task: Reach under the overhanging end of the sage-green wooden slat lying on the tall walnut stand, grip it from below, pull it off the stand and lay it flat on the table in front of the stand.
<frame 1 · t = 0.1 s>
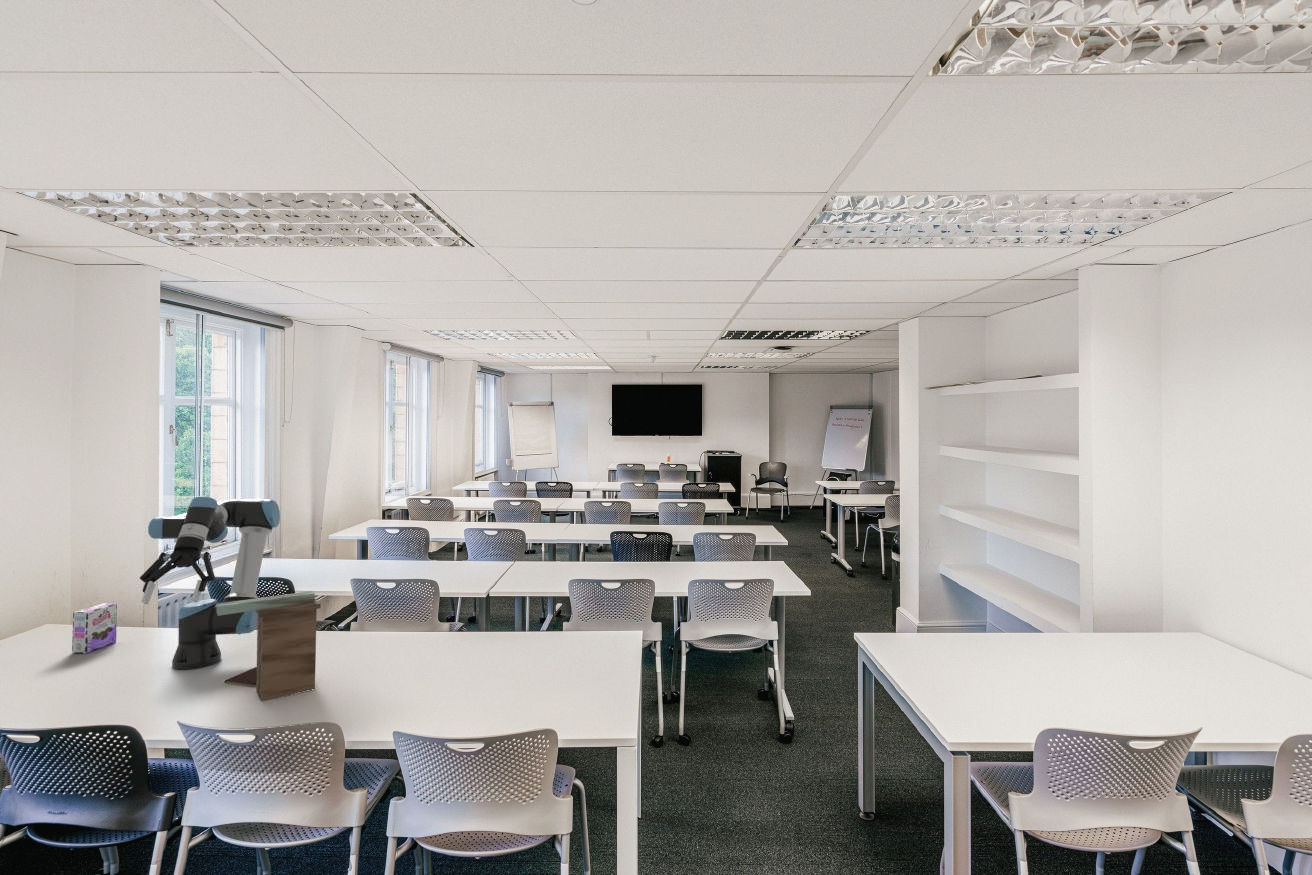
hand: (169, 602, 194), 36 cm above the table, tool tilted 35°, fingers open, 13 cm apart
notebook: (265, 676, 227), on the table
slat: (267, 607, 210), point 30 cm above the table, touching stand
candy box: (94, 648, 250), on the table
stand: (285, 690, 214), on the table
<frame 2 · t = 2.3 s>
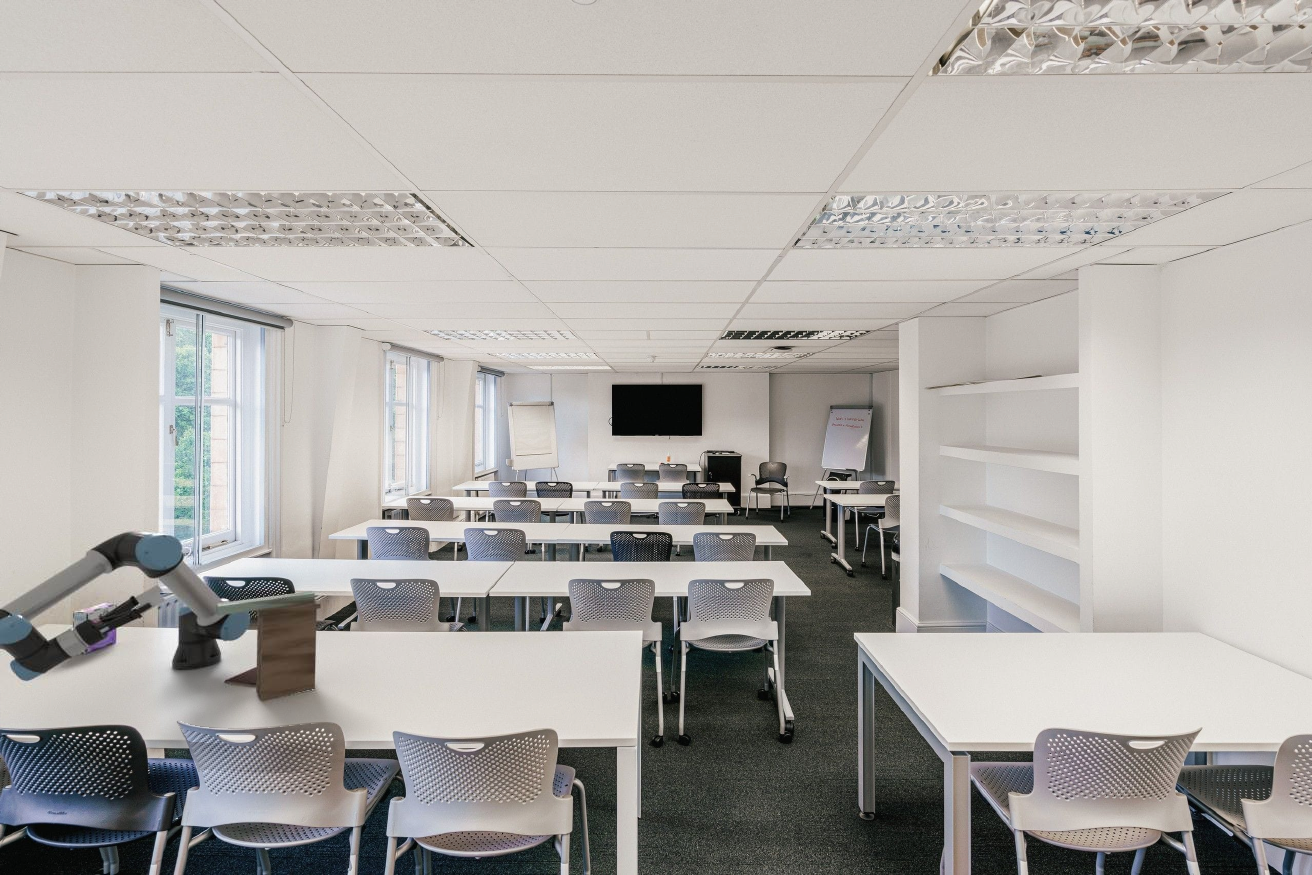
hand: (161, 592, 197), 38 cm above the table, tool pointing upward, fingers open, 13 cm apart
nothing on the table moved.
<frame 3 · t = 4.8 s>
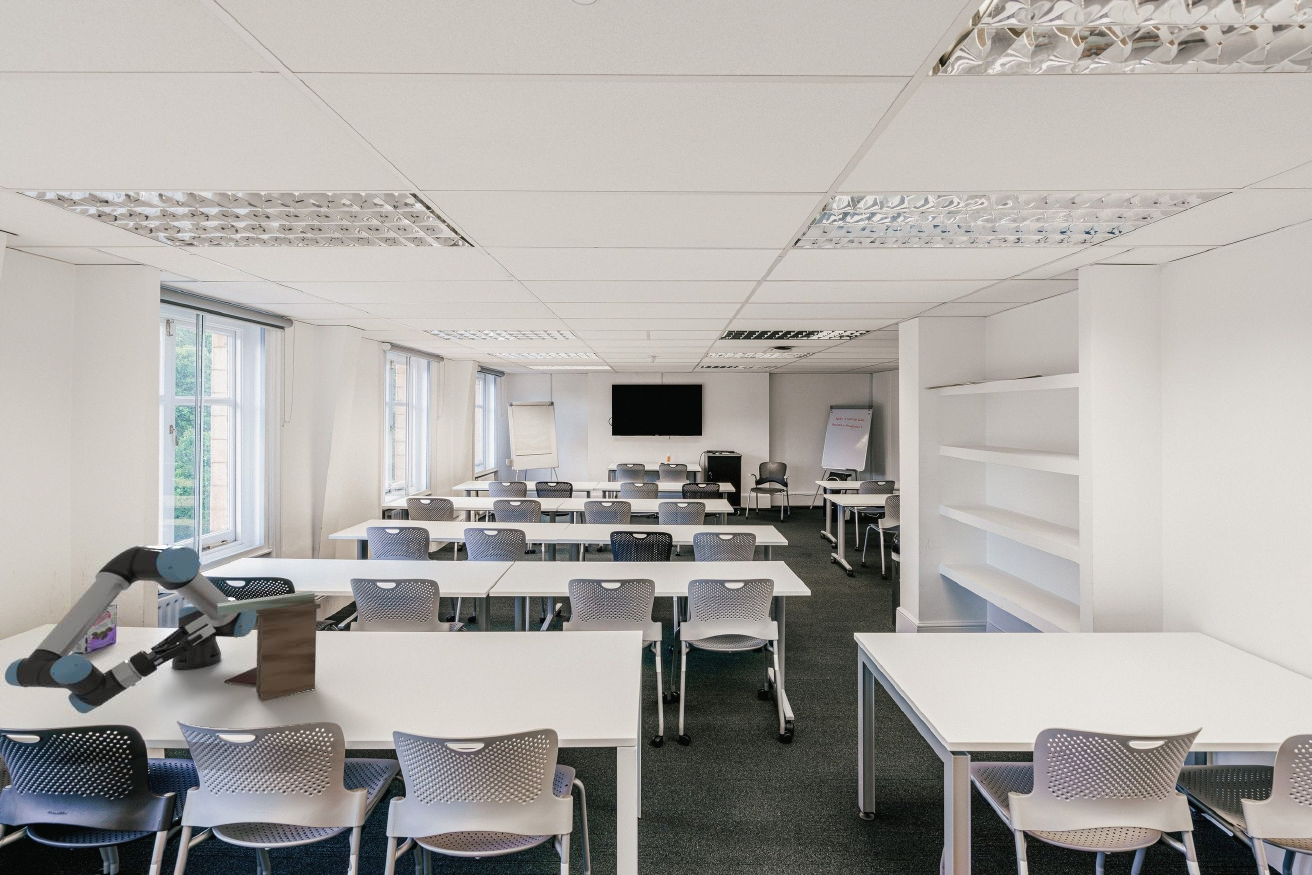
hand: (210, 622, 200), 28 cm above the table, tool pointing upward, fingers open, 13 cm apart
nothing on the table moved.
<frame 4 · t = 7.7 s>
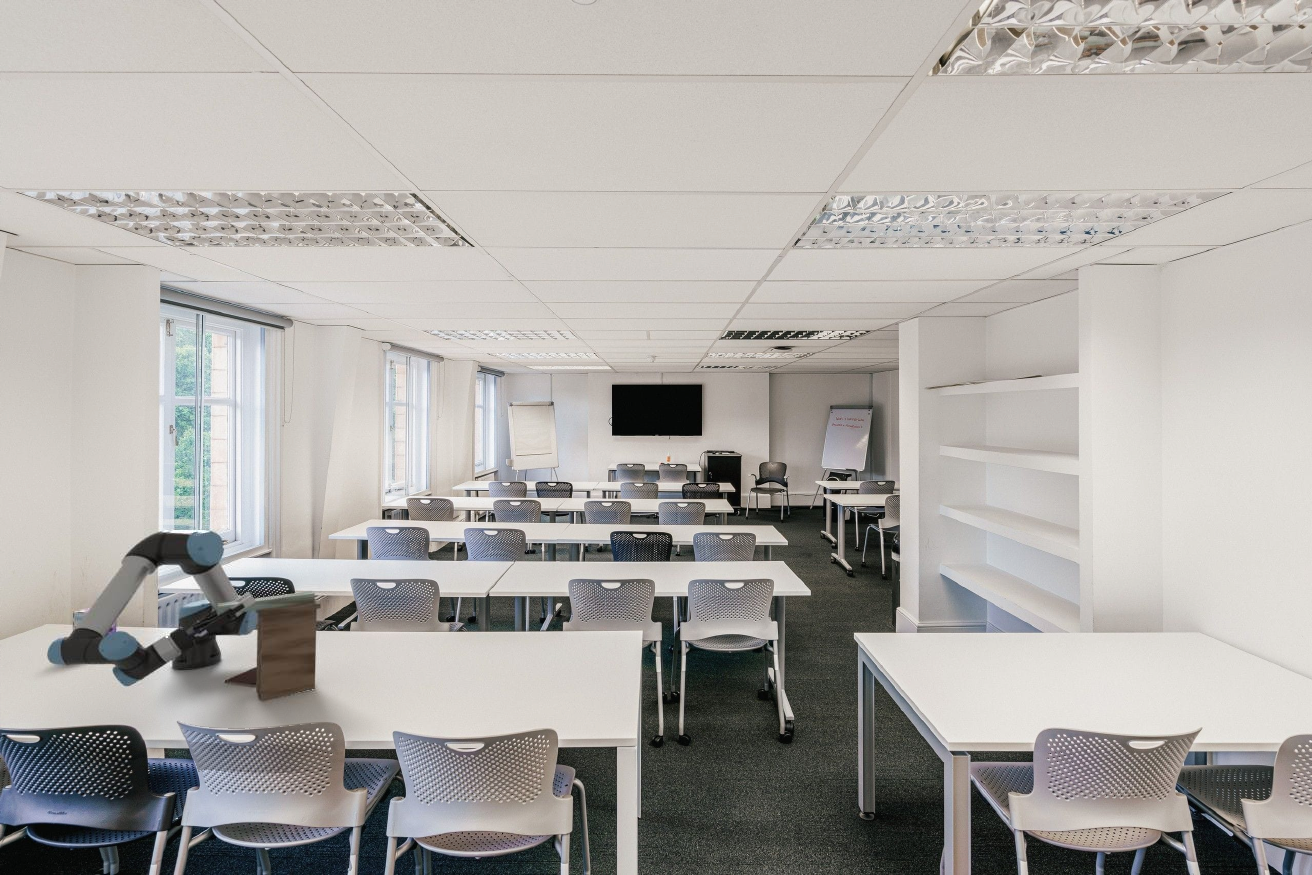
hand: (252, 596, 207), 34 cm above the table, tool pointing upward, fingers closed on slat, 4 cm apart
slat: (267, 607, 210), point 30 cm above the table, touching gripper, stand
everything else where it was.
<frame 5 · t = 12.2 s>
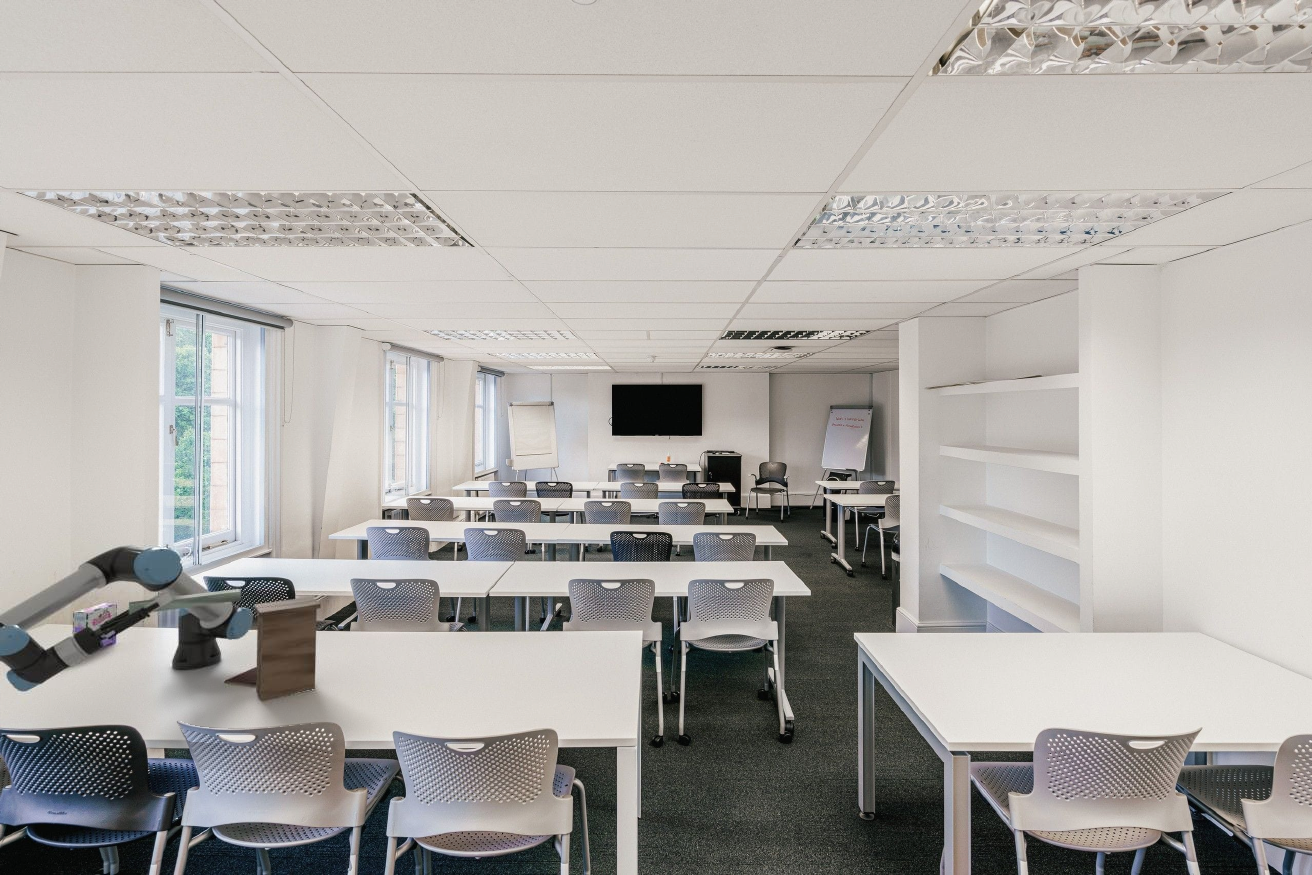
hand: (169, 594, 193), 38 cm above the table, tool pointing upward, fingers closed on slat, 4 cm apart
slat: (186, 605, 196), point 34 cm above the table, touching gripper
everything else where it was.
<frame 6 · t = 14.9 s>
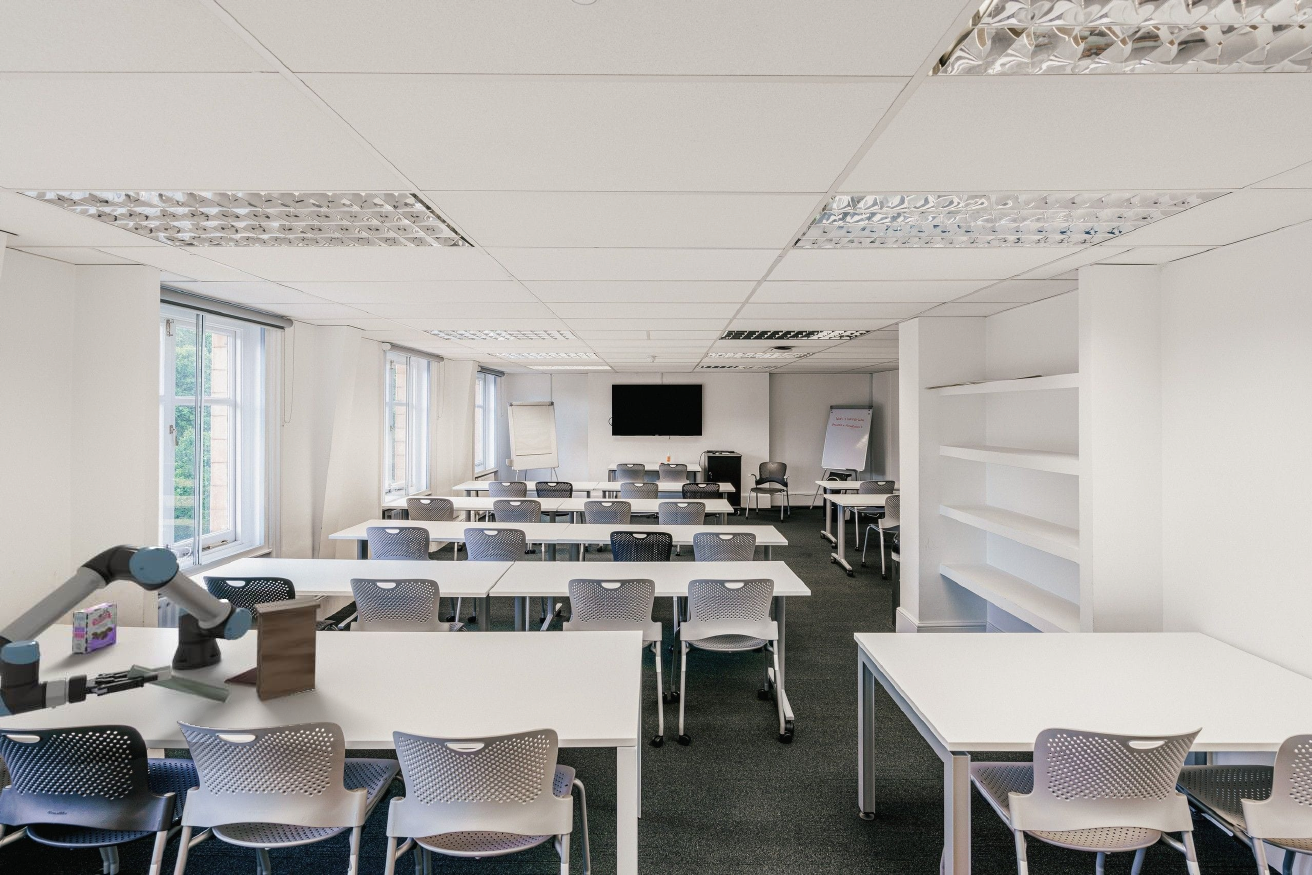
hand: (170, 671, 193), 14 cm above the table, tool horizontal, fingers closed on slat, 4 cm apart
slat: (177, 688, 195), point 8 cm above the table, tilted 30°, touching gripper
everything else where it was.
when the fingers open (7 cm above the table, at t = 16.9 s): slat drops 4 cm, on the table.
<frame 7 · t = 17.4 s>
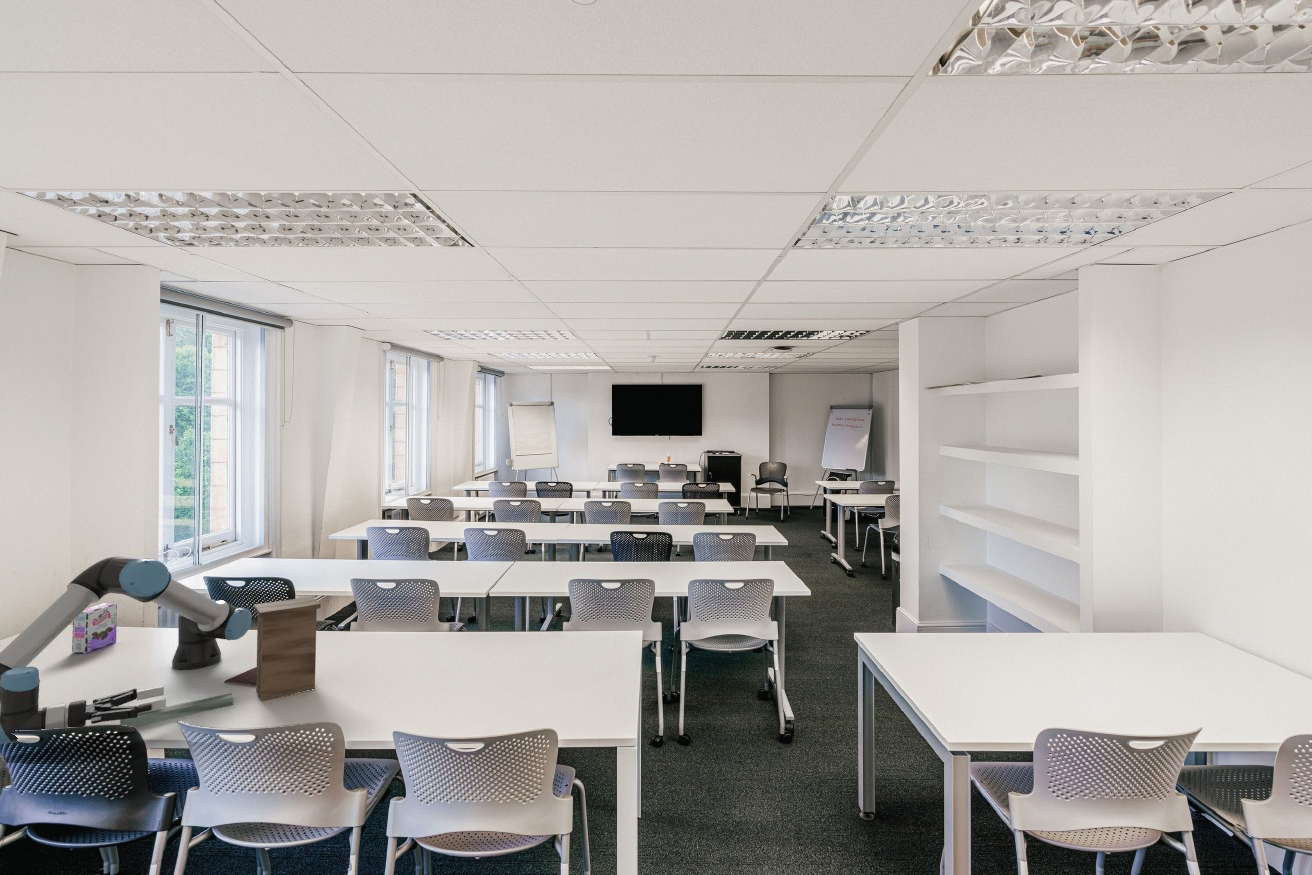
hand: (164, 696, 193), 6 cm above the table, tool horizontal, fingers open, 11 cm apart
slat: (178, 715, 195), on the table
everything else where it was.
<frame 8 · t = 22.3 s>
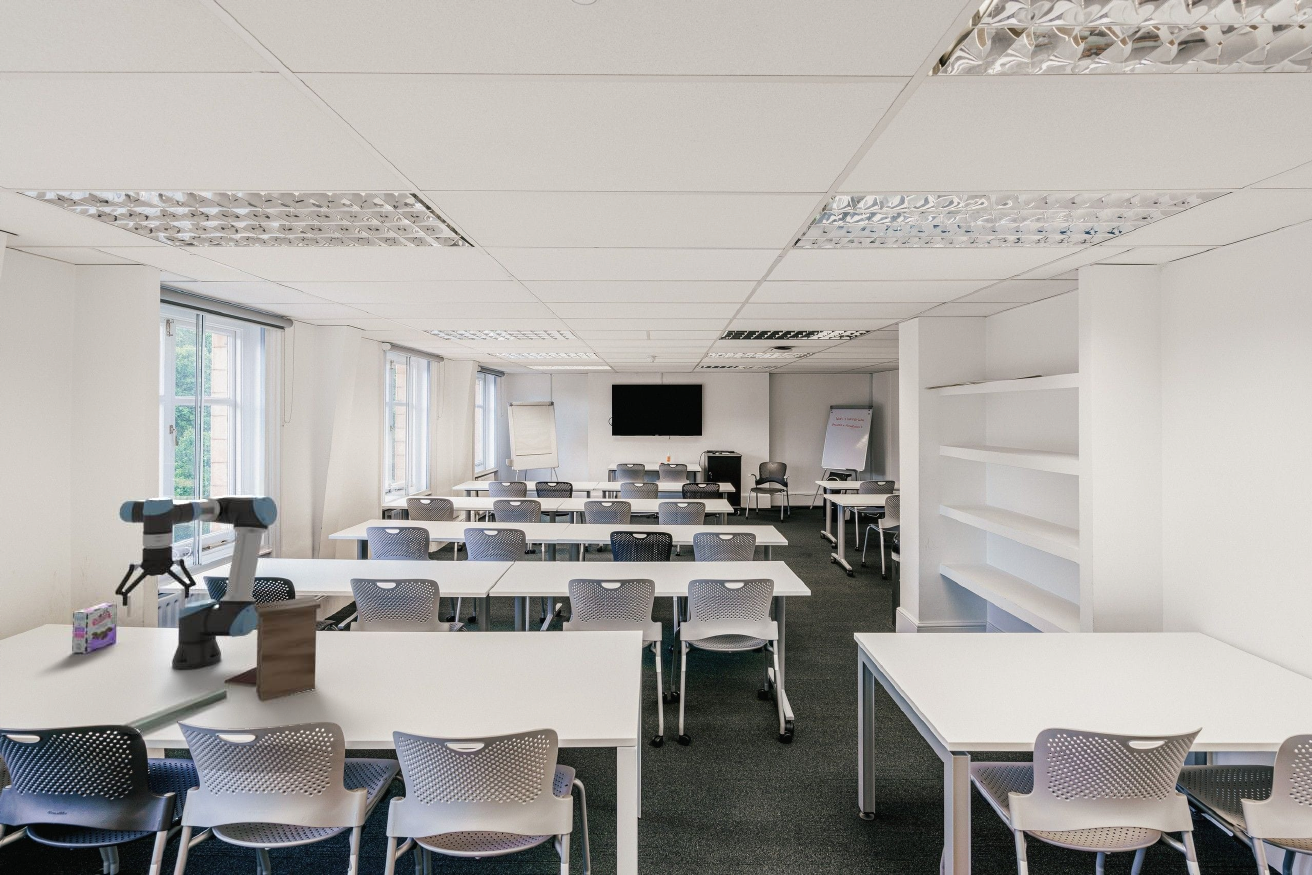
hand: (156, 612, 199), 31 cm above the table, tool pointing down, fingers open, 13 cm apart
at the end: slat inside the target area (1.5 cm from its centre), on the table; slat touching table; the gripper is holding nothing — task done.
